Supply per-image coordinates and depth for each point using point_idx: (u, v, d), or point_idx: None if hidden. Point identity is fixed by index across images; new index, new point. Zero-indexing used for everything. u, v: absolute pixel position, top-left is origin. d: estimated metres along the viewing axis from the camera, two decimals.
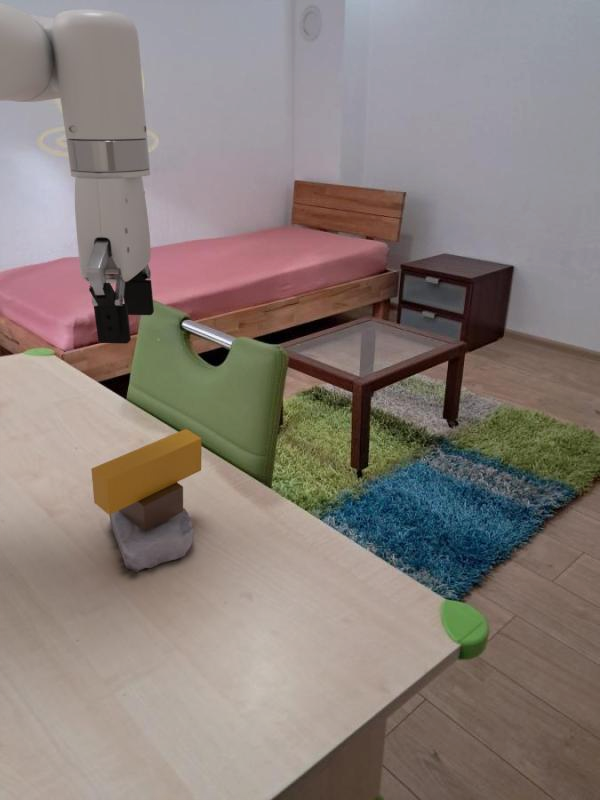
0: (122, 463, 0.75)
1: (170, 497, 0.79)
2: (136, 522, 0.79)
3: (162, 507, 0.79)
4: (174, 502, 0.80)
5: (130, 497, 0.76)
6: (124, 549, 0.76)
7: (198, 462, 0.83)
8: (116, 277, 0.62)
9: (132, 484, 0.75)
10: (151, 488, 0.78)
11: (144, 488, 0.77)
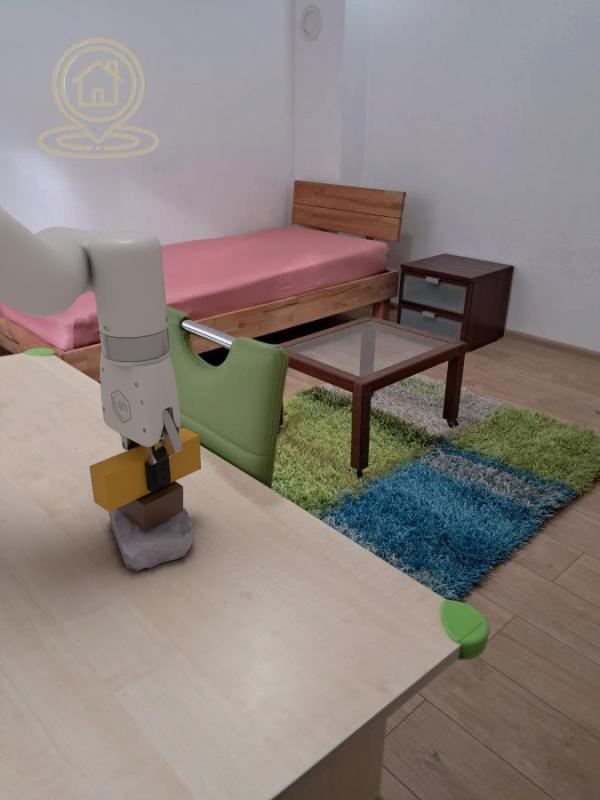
0: (120, 460, 0.75)
1: (170, 496, 0.79)
2: (136, 522, 0.79)
3: (162, 507, 0.79)
4: (174, 502, 0.80)
5: (129, 494, 0.76)
6: (124, 549, 0.76)
7: (197, 460, 0.83)
8: (165, 438, 0.76)
9: (131, 480, 0.75)
10: None
11: (143, 485, 0.77)
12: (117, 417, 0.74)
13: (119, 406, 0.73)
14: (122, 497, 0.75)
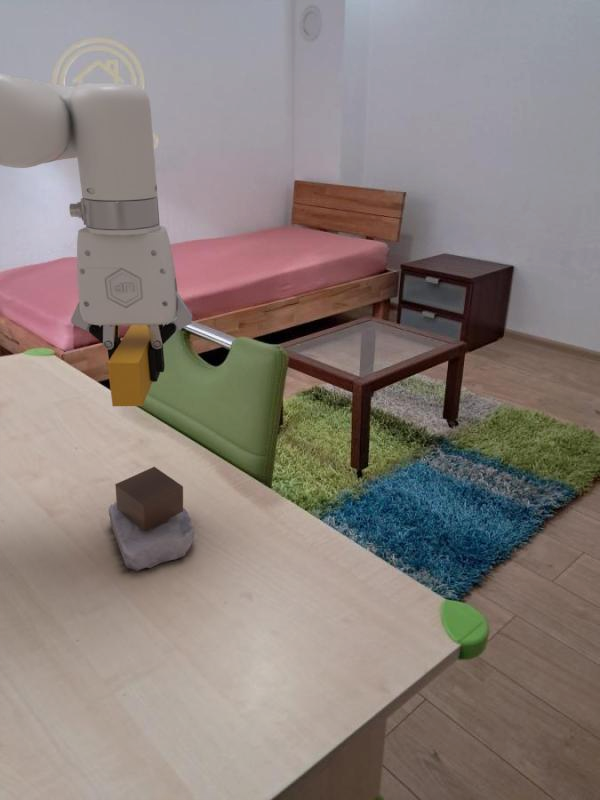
0: (127, 352, 0.68)
1: (170, 496, 0.79)
2: (136, 522, 0.79)
3: (162, 507, 0.79)
4: (174, 502, 0.80)
5: (146, 386, 0.70)
6: (124, 549, 0.76)
7: None
8: None
9: (145, 370, 0.70)
10: None
11: (149, 376, 0.72)
12: (115, 304, 0.67)
13: (121, 289, 0.66)
14: (144, 389, 0.69)
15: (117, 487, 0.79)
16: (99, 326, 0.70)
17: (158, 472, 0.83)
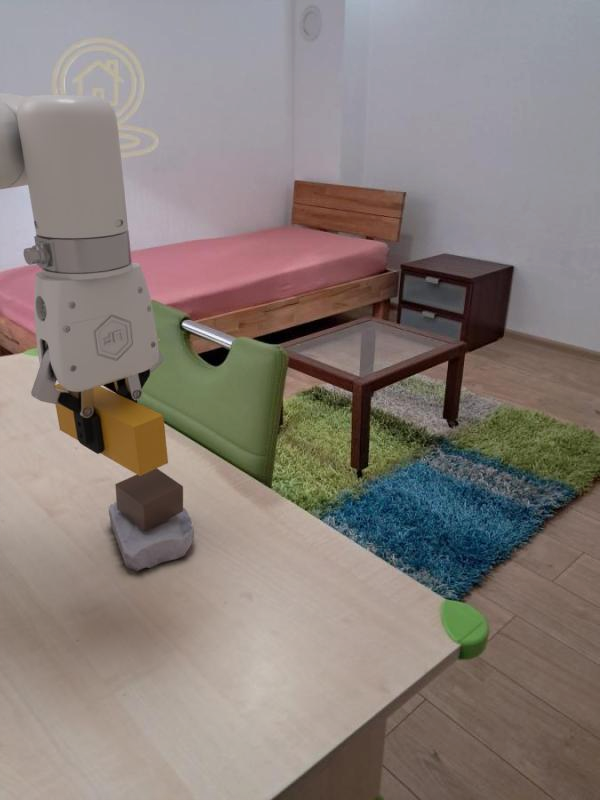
0: (126, 411, 0.58)
1: (170, 496, 0.79)
2: (136, 522, 0.79)
3: (162, 507, 0.79)
4: (174, 502, 0.80)
5: None
6: (124, 549, 0.76)
7: None
8: None
9: None
10: None
11: None
12: (105, 359, 0.56)
13: (111, 339, 0.56)
14: None
15: (117, 487, 0.79)
16: (69, 394, 0.57)
17: (158, 472, 0.83)
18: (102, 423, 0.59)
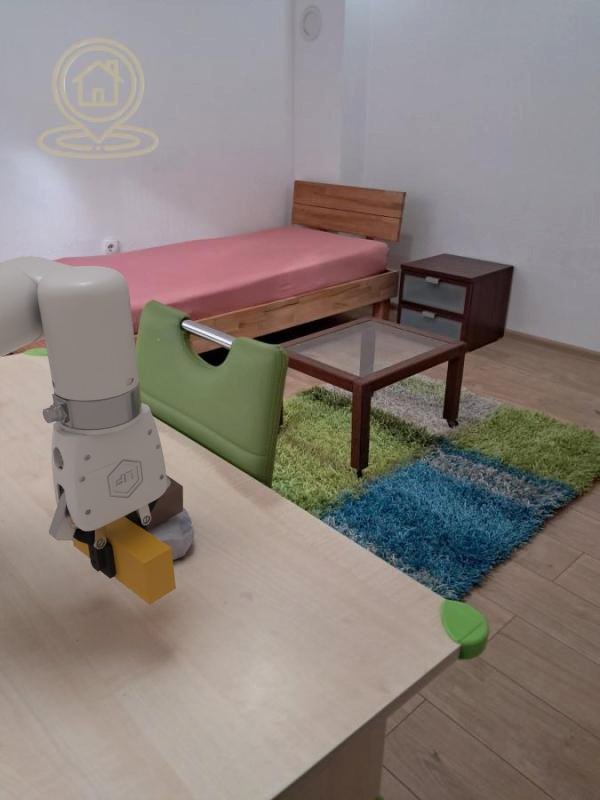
0: (137, 542, 0.62)
1: (170, 496, 0.79)
2: None
3: (162, 507, 0.79)
4: (174, 502, 0.80)
5: None
6: None
7: None
8: None
9: None
10: None
11: None
12: (118, 499, 0.60)
13: (123, 480, 0.60)
14: None
15: None
16: None
17: None
18: (114, 552, 0.63)
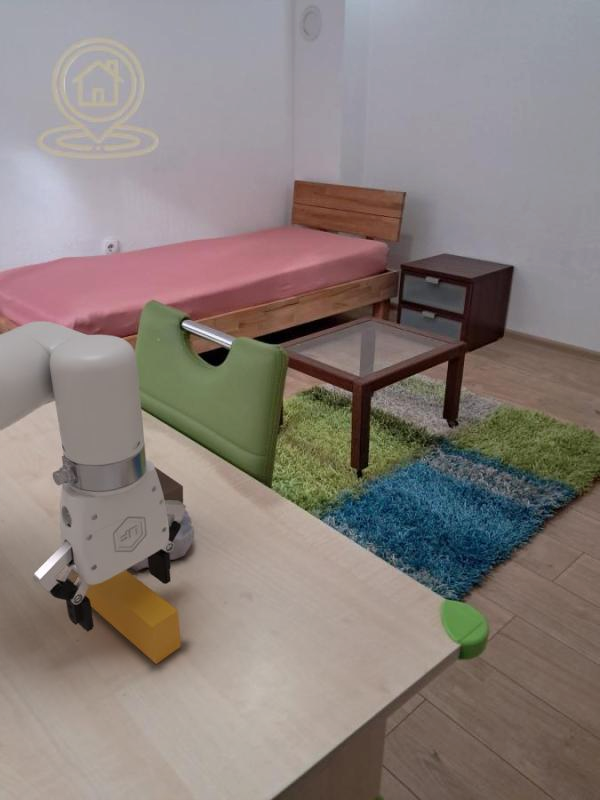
0: (144, 603, 0.65)
1: (170, 496, 0.79)
2: None
3: None
4: None
5: None
6: None
7: None
8: None
9: None
10: None
11: None
12: (122, 553, 0.63)
13: (127, 536, 0.62)
14: None
15: None
16: (61, 585, 0.61)
17: (158, 471, 0.83)
18: (123, 612, 0.66)
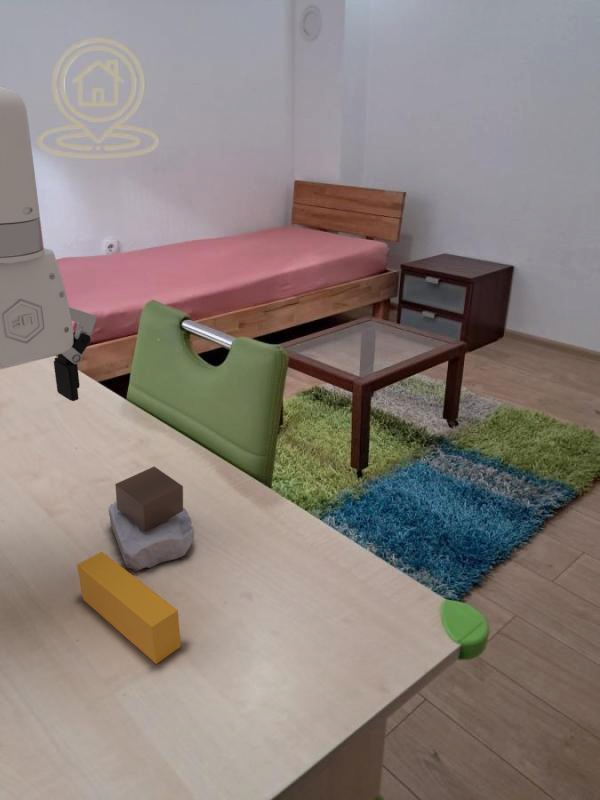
0: (144, 603, 0.65)
1: (170, 496, 0.79)
2: (136, 522, 0.79)
3: (162, 507, 0.79)
4: (174, 502, 0.80)
5: None
6: (124, 549, 0.76)
7: None
8: None
9: None
10: None
11: None
12: (15, 342, 0.58)
13: (20, 322, 0.58)
14: None
15: (117, 487, 0.79)
16: None
17: (158, 471, 0.83)
18: (123, 612, 0.66)
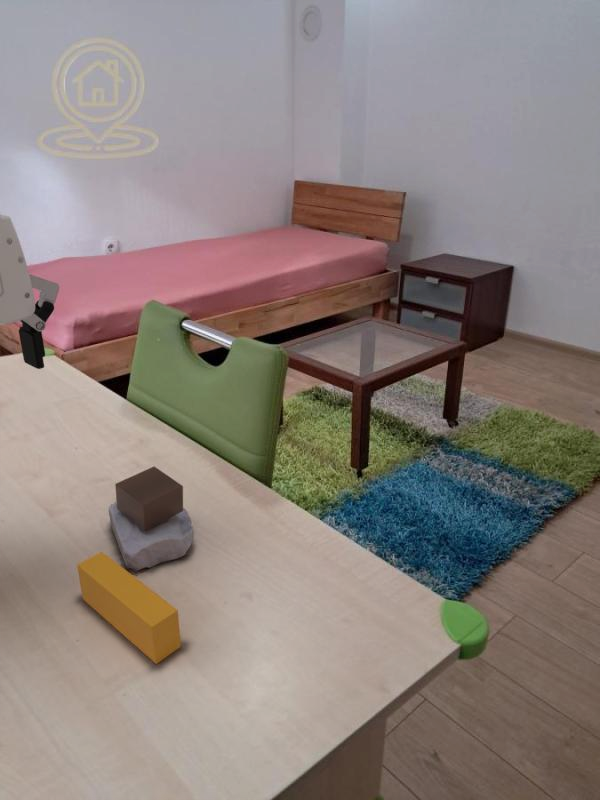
0: (144, 603, 0.65)
1: (170, 496, 0.79)
2: (136, 521, 0.79)
3: (162, 507, 0.79)
4: (174, 501, 0.80)
5: None
6: (124, 548, 0.76)
7: None
8: None
9: None
10: None
11: None
12: None
13: None
14: None
15: (117, 487, 0.79)
16: None
17: (158, 471, 0.83)
18: (123, 612, 0.66)
